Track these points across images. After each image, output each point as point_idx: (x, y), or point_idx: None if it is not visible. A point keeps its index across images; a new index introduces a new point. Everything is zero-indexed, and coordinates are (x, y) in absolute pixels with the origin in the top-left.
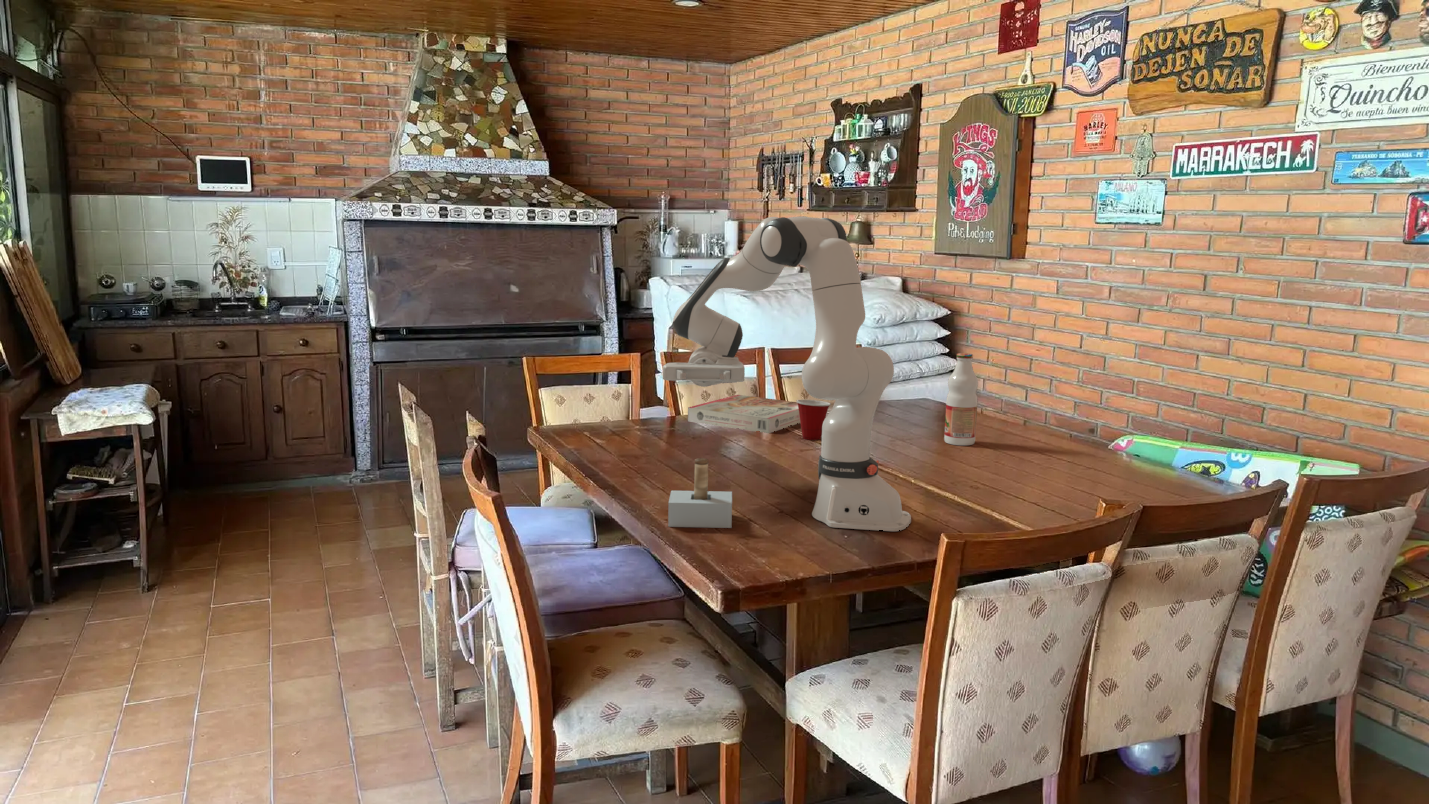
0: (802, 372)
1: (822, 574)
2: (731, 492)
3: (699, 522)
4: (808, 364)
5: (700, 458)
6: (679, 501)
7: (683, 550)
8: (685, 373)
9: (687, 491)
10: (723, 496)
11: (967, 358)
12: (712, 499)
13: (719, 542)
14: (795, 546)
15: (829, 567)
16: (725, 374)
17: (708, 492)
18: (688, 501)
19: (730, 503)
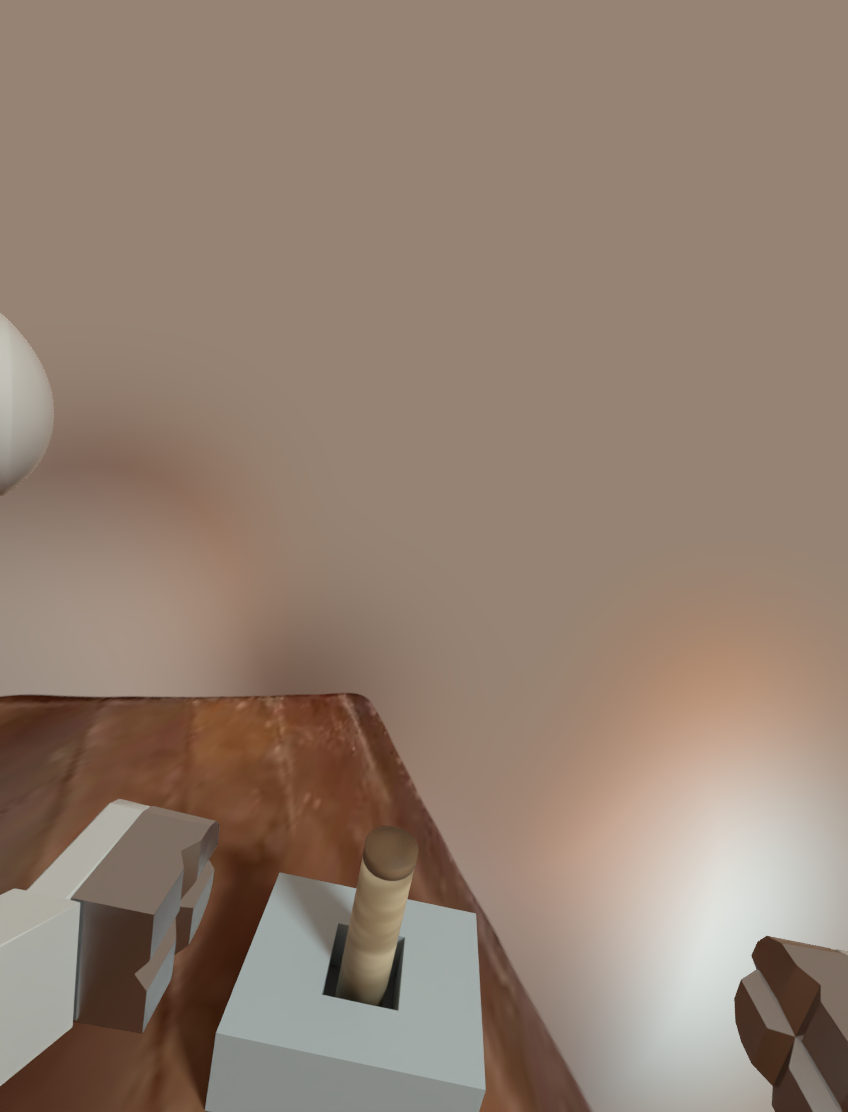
0: (32, 403)
1: (208, 698)
2: (224, 1017)
3: None
4: (37, 361)
5: (394, 865)
6: (442, 920)
7: (416, 812)
8: (786, 943)
9: (413, 1061)
10: (279, 959)
11: None
12: (330, 927)
13: (334, 838)
14: (172, 791)
15: (179, 712)
16: (119, 803)
17: (324, 1030)
18: (413, 916)
19: (282, 877)
